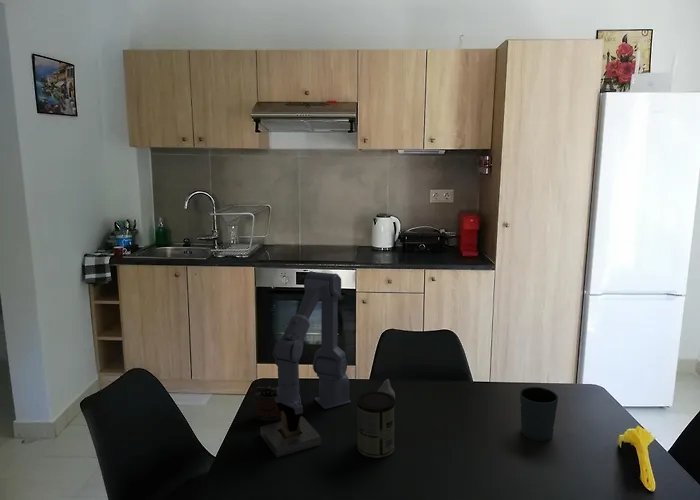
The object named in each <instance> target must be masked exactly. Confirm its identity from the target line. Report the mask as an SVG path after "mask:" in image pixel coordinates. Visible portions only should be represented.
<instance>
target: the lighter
mask: <svg viewBox="0 0 700 500" xmlns="http://www.w3.org/2000/svg"><path fill="white" fill-rule="evenodd" d="M255 391H256V393H255V394H254V400H255V402H254V403H255V405H254V406H255V417H254V418H255V419H256V420H258V421H281V414H280V411H279V408H278V406H277V404H276V402H275V398H277V397H278V394H277V387H272V386H271V385H268V386H266V387H265V386H257V387H256V390H255Z"/></svg>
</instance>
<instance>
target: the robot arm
mask: <svg viewBox="0 0 700 500" xmlns="http://www.w3.org/2000/svg"><path fill="white" fill-rule="evenodd" d="M303 289H304V294H303V296H302V299H301V302H300V305H299V307H298V310H297V314H296V315H293V316H291V318H290V319H289V322H288V324H287V326H286V329H285V331H284V333H283V334H282V336H281V338H279V339H278V340H276V341H275V343H274V346H273V349H272V350H273V351H272V357H273V358H274V362H275V366H277V383H278V384H277V387H276V388H277V394H278V397H277V398H275V402H276V404H277V406H278V408H279V411H280V414H281V411H283V412H284V413H285V416H286V419H287V424H288V429H289V431H290V432H293V431H297V428H298V423H299V420H300V417H301V416H302V414H303V413H304V412H305V407H304V406H303V405H302V401H301V395H300V375H299V374H300V369H299V361H300V359H301V357H302V354H303V349H304V345H305V344H304V340H305V338H306V335H307V333H308V331H309V328H310V326H311V324H310V320H309V319H310V317H311V316H312V313H313V312H314V310H315V309H316V307H317V304H318V303H319V301H320V300H321V313H320V315H321V320H320V321H321V325H320V326H321V330H320V332H321V333H320V334H321V338H320V339H321V341H320V343H321V344H320V345H321V346H320V347H319V348H318V349H316V351H315V352H314V357H313V360H312V369H313V372H314V373H315V374H316V377H318V391H319V392H318V395H319V396H318V397H315V398H314V400H315V402H317V404H319V405H320V406H321V407H322V408H323V409H324V410H327V409H331V408H335V407H339V406H343V405H346V404H350V403H351V402H352V400H350V398H351V397H350V396H351V395H350V394H351V391H350V378H349V376H348V374H347V369H348V361H347V358H346V357H347V356H346V352H345V351H344V350H343V349H341V348H340V347H339V346H338V312H339V311H338V308H339V307H338V302H339V301H338V298H341V297H342V278H341V276H340V275H339V274H338V273H329V272H318V271H313V270H312V271H311V270H309V271H308V272H307V273H306V275H305V277H304V281H303Z"/></svg>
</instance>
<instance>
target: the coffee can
mask: <svg viewBox="0 0 700 500" xmlns="http://www.w3.org/2000/svg"><path fill="white" fill-rule="evenodd" d="M377 391H378V390H377ZM377 391H368V392H365V393H361V394H359V396H357V398H356V409H357V412H356V413H357V416H356V417H357V421H356V422H357V451H358V452H359V453H360V454H362V455H363V456H365V457H367V458H371V459H372V458H373V459H376V458H377V459H380V458H386V457H388V456H390V455H391V454H393V452H394V451H395V449H396V448H395V447H396V446H395V418H396V417H395V412H396V409H395V405H396V397H395V398H394V397H393V396H392V395H390V394H388V393H384V392H377Z"/></svg>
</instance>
